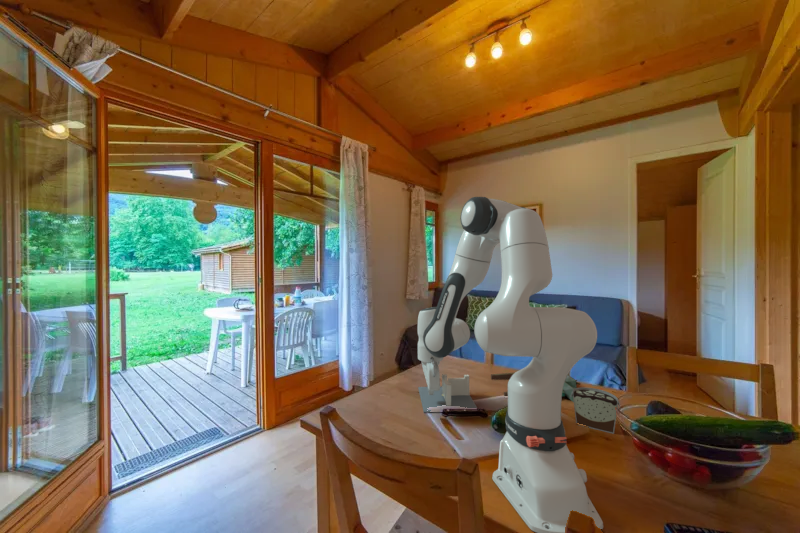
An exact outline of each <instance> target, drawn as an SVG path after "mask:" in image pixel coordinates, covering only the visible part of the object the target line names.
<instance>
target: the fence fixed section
mask: <svg viewBox="0 0 800 533" xmlns="http://www.w3.org/2000/svg"><path fill="white" fill-rule="evenodd" d="M447 381H448V383H450V384H451V396H456V395H470V375H469V374H463V377H447Z"/></svg>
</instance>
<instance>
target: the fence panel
mask: <svg viewBox="0 0 800 533" xmlns="http://www.w3.org/2000/svg"><path fill="white" fill-rule="evenodd" d="M441 386H442V395H444V398H445V401H446V406H451V384H450V383H448V374H447V373H442V375H441Z"/></svg>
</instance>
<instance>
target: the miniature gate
mask: <svg viewBox="0 0 800 533" xmlns="http://www.w3.org/2000/svg"><path fill="white" fill-rule="evenodd" d="M514 373H515V372H505V373H503V372H502V373H492V374H490V379H491V380H492V381H493V380H495V381H496V380H498V381H499V380H504V381H505V380H508V381H509V379H510V378H511V376H512V375H513V374H514ZM577 385H581V383H580V382H579V381H578V379H575V378H573V376H570V375H569V374H568V375H567V377H566V380H565V382H564V385H563V390H562V397H566V398H568V399H569V400H570V401H571V402H572V403H574V401H573V396H572V397H571V394H572V392H573V390H574V389H576V388H578V386H577ZM504 396H508V391H503V397H504Z"/></svg>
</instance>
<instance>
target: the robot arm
mask: <svg viewBox="0 0 800 533" xmlns="http://www.w3.org/2000/svg"><path fill="white" fill-rule="evenodd" d="M459 220H460V224H461V227H462V229H463V230H462V234H461V236H460V238H459V241H458V244H457V247H456V251H455V255H454V258H453V262H452V265H451V268H450V271H449V274H448V275H447V278H446V281H445V283H444V286H442V290H441V292H440V295H439V299H438V302H437V305H436V306H432V307H431V306H430V307H425V308H422V309H420V311H419V312H418V315H417V316H418V317H417V327H416V328H417V329H416V330H417V336H418V341H417V360H419V361H421V367H422V371H423V374H424V377H425V381H426V385H427V386H426V387H428V393H429V395H434V391H439V390H440V386H441V378H440V376H441V374H440V373H441V372H440V366H439V365H440V364H441V362H442V361H443V360H444V358H445V357H448V355H450V354H451V353H453V352H454V351H456V350H458V349H460V348H461V347H464V346H465V345H466V344H467V343H468V342H469V341H470V339H471V328H470V326H469V325H468V323H467V322H466V321H465V320H463V319H461V318H457V315H458V311H459V308H460V306H461V303H462V301H463V300H464V298H465V297H466V296H467V295H468V293H470V292H471V291H472V290H473V289H474V288H476V287H478V286H479V285H480V284H482V283H483V281H484V280H485V278H486V276H487V275H488V274H487V273H488V271H489V268H490V265H491V262H492V261H491V260H492V257H493V253H494V249H495V247H496V246H497V245H498V244H499V246H500V247H499V250H500V262H501V281H500V288H499V290H498V293H497V294H496V297H495V299H493V300H492V303H490V304H489V306H487V307H486V308H485V309H483V310H482V311H481V312H480V313H479V314H478V316H477V318H476V319H475V323H474V331H473V333H474V336H475V340H476V342H477V344H478V346H479V347H480V348H481V350H483V351H484V353H489V354H493V355H498V356H501V357H502V356H503V357H527V358H528V357H530V358H531V357H532V359H531V361H530V362H529V363H528V364H527V365H526V366H525V367H523V368H521V369H519V370H517V371H515V372H513V373H514V374H513V375H512V376H511V378H510V379H508V381H507V392H508V398H507V410H506V412H505V413H506V414H505V417H504V418H505V420H504V422H505V430H506V432H505V434H504V436H503V437H502V439H501V440H500V441H499V453H498V466H497V467H498V468H497V469H495V470H494V471H493V473H492V478H491V479H492V481H493V482H494V483H495V485H496V486H497V487H498V488H499V490H500V491H501V492H502V494H503V495H504V496H505V498H506V500H508V502H509V503H510V504H511V506H512V507H513V509H514V510H515V511H516V512H517V514H518V515H519V517H520V518H521V519H522V520H523V522H524V523H525V525H526V526H527V527H528V528H529V529H530V530H531V531H532V532H535V533H565V527H566V523H567V520H568V517H569V514H570V511H572V510H573V511H577V512H579V513H582V514H585V515H587V516H590V517H592V518H593V519H594V521H595V524H596V526H597V527H598V528H600V529H602V530H603V529H604V522H603V520H602V518H601V516H600V514H599V513H598V511H597V510H596V508H595V505H594V504H593V503H592V500H591V499H590V497H589V496H588V492H587V487H586V484H585V483H587V481H588V478H587V477H588V476H587V473H586V471H585V470H584V469H583V468H578V466H577V464H576V462H575V455H574V453H573V452H571V451H570V450H569V448H568V446H567V443H568V441H567V439H568V437H567V436H566V429H565V426H564V422H563V420H562V398H563V396H562V390H563V385H564V382H565V380H566V377H567V375H569V373H570V371H571V370H572V369H573V367H574V366H575V365H576V364H577V363H578V362H579V361H580V360H581V359H582V358H584V357H585V356H588V354H590V353H591V352H592V351H593V350H594V348H595V346H596V344H597V340H598V329H597V326H596V323H595V322H594V320H593V319H592V318H591V316H590V315H589V314H588V313H587V312H585V311H582V310H579V309H574V308H568V307H562V306H560V307H559V306H556V307H555V306H554V307H553V306H551V307H550V306H545V307H544V306H543V307H542V306H538V307H536V306H535V307H533V306H531V305H530V297H531V296H533V295H535V294H537V293H540V292H542V291H543V290H545V288H548V287H549V285H550V284H551V282H552V281H553V280H552V279H553V270H552V263H551V254H550V249H549V248H550V247H549V242H548V237H547V234H546V230H545V226H544V224H543V221H542V218H541V216H540V214H539V213H538V212H536V211H535V210H533V209H531V208H526V207H524V206H518V205H516V204H514V203H511V202H507V201H505V200H502V199H501V200H500V199H496V198H488V197H487V196H472V197H471V198H469V199H468V200H467V201H466V202H465V203H464V204H463V206H462V209H461V212H460V219H459Z"/></svg>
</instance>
